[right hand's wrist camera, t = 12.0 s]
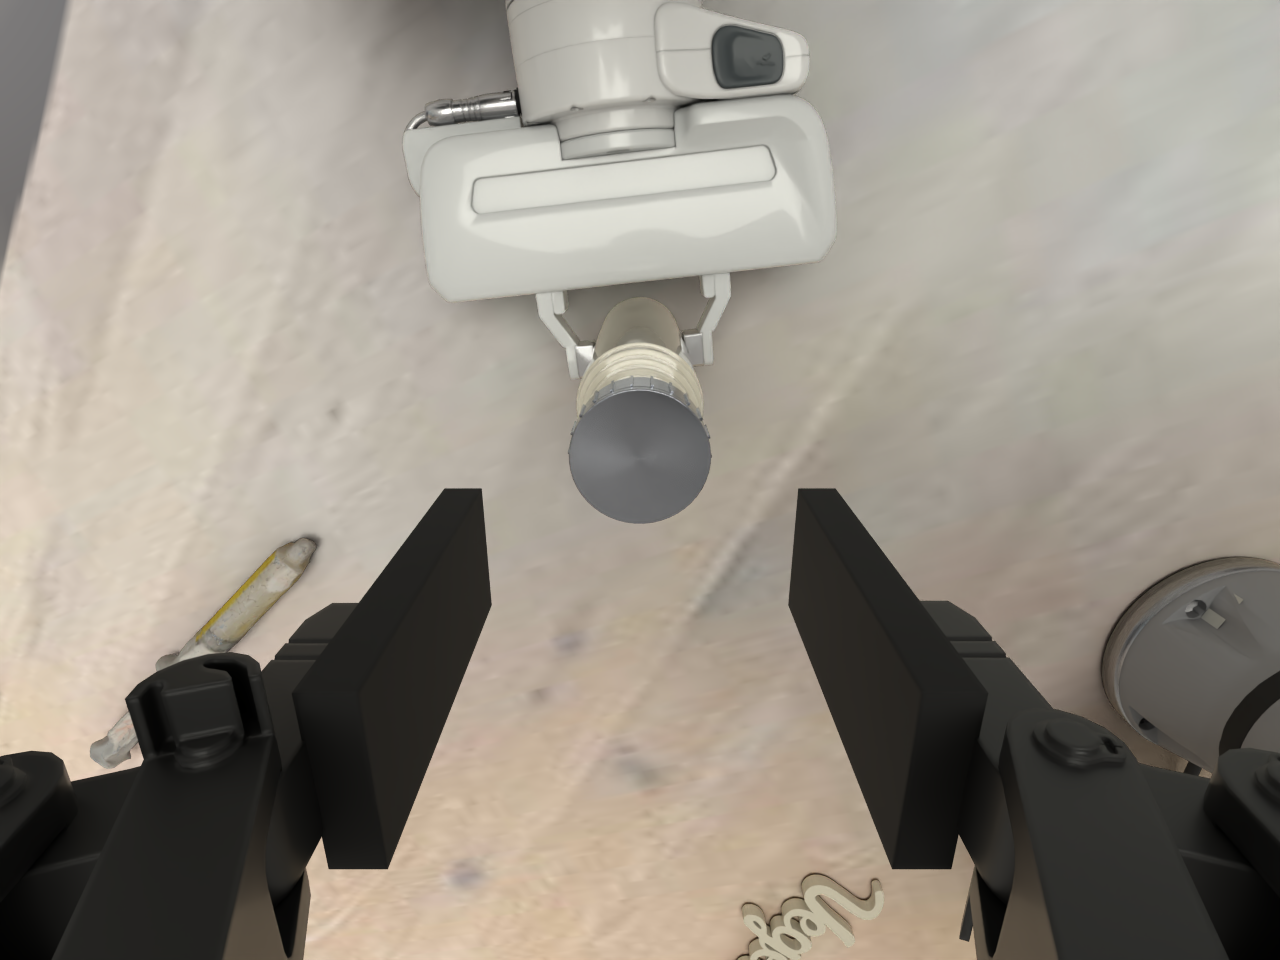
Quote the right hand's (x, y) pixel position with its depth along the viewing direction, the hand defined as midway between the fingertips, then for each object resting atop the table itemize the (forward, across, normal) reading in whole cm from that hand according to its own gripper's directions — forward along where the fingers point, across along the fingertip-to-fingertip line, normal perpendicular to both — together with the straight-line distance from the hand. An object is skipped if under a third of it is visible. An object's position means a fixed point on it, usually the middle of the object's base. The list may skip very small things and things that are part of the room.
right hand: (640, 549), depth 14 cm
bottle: (+30, 0, 0) cm, 30 cm away
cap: (+6, 0, 0) cm, 6 cm away
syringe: (+30, -31, -22) cm, 49 cm away
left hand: (+24, 0, -1) cm, 24 cm away
